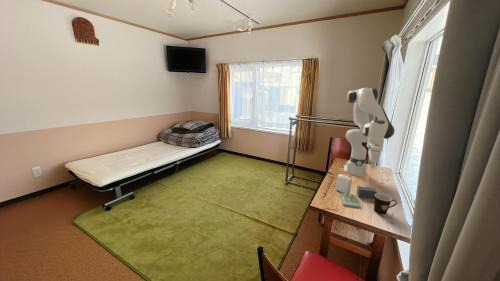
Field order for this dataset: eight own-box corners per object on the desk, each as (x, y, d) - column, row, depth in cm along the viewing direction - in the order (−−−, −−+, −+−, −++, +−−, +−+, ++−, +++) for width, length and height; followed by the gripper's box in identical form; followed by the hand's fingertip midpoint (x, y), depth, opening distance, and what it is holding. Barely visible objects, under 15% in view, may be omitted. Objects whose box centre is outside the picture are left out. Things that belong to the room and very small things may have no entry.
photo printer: (334, 189, 145) (336, 173, 142) (338, 187, 147) (340, 172, 144) (347, 195, 136) (349, 179, 133) (350, 194, 139) (353, 178, 135)
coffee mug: (371, 212, 118) (374, 198, 116) (372, 205, 125) (375, 191, 123) (394, 220, 112) (398, 204, 109) (394, 212, 119) (398, 197, 116)
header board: (339, 194, 138) (340, 188, 137) (355, 196, 136) (356, 190, 134) (343, 205, 125) (344, 198, 124) (360, 208, 123) (361, 201, 121)
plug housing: (356, 193, 139) (357, 185, 138) (373, 195, 137) (374, 188, 135) (358, 197, 135) (359, 189, 133) (375, 199, 132) (377, 191, 130)
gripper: (367, 141, 138) (364, 159, 141) (371, 148, 120) (367, 169, 123) (378, 142, 135) (374, 161, 138) (383, 149, 117) (379, 171, 120)
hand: (371, 165), depth 131 cm, fingers open, 8 cm apart
